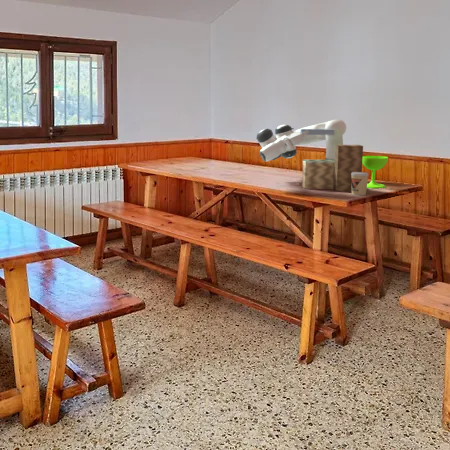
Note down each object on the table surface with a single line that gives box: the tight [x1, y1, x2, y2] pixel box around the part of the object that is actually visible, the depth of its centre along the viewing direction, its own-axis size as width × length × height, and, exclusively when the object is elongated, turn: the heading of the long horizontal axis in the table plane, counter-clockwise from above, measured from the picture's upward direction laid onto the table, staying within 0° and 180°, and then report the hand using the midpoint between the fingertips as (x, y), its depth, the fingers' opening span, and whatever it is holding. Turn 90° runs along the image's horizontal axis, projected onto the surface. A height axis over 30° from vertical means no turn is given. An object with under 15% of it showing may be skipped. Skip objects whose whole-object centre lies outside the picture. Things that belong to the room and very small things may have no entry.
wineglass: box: [362, 155, 389, 190], centre depth 363 cm, size 16×16×18 cm
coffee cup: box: [351, 171, 369, 196], centre depth 334 cm, size 9×9×12 cm
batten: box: [299, 128, 334, 135], centre depth 345 cm, size 19×3×3 cm, turn 93°
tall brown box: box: [332, 144, 364, 192], centre depth 347 cm, size 14×9×26 cm, turn 92°
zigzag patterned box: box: [301, 159, 335, 190], centre depth 359 cm, size 24×10×16 cm, turn 92°
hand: (307, 131), depth 345 cm, fingers closed on batten, 3 cm apart
